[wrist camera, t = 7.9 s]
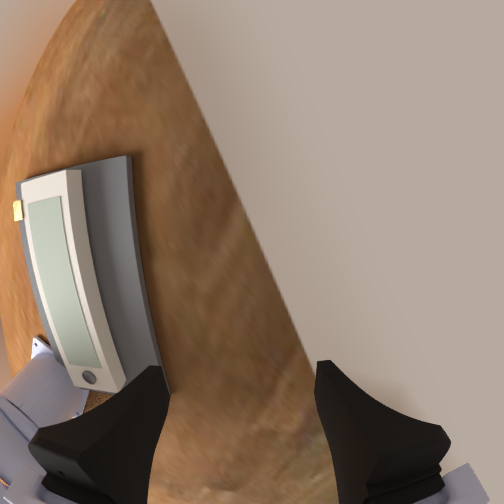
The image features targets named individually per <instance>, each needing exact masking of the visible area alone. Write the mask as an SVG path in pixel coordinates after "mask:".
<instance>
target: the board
mask: <svg viewBox="0 0 504 504" xmlns="http://www.w3.org/2000/svg"><path fill="white" fill-rule="evenodd" d="M63 170H81V177H82V190H83V200H84V209H85V217H86V224H87V231H88V238H89V244H90V249H91V255H92V260H93V265H94V270H95V275H96V279H97V284H98V288H99V292H100V297H101V301H102V304H103V308H104V312H105V316H106V319H107V323H108V326H109V330H110V333H111V336H112V339H113V343H114V346H115V349H116V352H117V355H118V358H119V361H120V363H121V366H122V369H123V372H124V374H125V377H126V381H125V383H124V385H123V387H122V389H123V388H124V387H125V386H126V385H127V384H129V383H130V382H131V381H132V380H133V379H134V378H136V377H137V376H138V375H139V374H140V373H141V372H142V371H143V370H145V369H146V368H147V367H148V366H149V365H155V366H162V370H163V373H164V377H165V381H166V384H167V388H168V391H169V394H170V396H171V392H170V389H169V385H168V382H167V378H166V375H165V371H164V367H163V363H162V359H161V356H160V352H159V347H158V343H157V339H156V335H155V330H154V326H153V321H152V316H151V311H150V306H149V301H148V296H147V290H146V285H145V279H144V273H143V267H142V260H141V253H140V246H139V238H138V230H137V221H136V212H135V201H134V189H133V174H132V156H120V157H115V158H110V159H105V160H100V161H95V162H91V163H86V164H82V165H78V166H73V167H69V168H65V169H61V170H58V171H54V172H50V173H47V174H43V175H40V176H36V177H33V178H29V179H26V180H23V181H20V182H17V183H16V194H17V201H15V202H13V207H14V217H15V221H17V220H19V223H20V231H21V237H22V243H23V249H24V254H25V259H26V264H27V269H28V273H29V278H30V282H31V286H32V290H33V293H34V297H35V301H36V304H37V307H38V311H39V314H40V317H41V320H42V323H43V326H44V329H45V332H46V335H47V338H48V340H49V343H50V346H51V348H52V351H53V353H54V356H55V358H56V361H57V362H59V363H60V364H61V365H62V366H63V367H65V368H66V366H65V364H64V362H63V359H62V357H61V354H60V352H59V349H58V347H57V344H56V342H55V339H54V336H53V334H52V331H51V328H50V325H49V322H48V319H47V316H46V313H45V310H44V307H43V303H42V300H41V296H40V293H39V289H38V285H37V282H36V278H35V273H34V269H33V265H32V260H31V255H30V250H29V245H28V239H27V233H26V227H25V220H24V212H23V203H22V192H21V183H24V182H27V181H30V180H33V179H36V178H40V177H43V176H46V175H50V174H53V173H56V172H60V171H63ZM80 389H84V390H89V391H94V392H100V393H106V394H112V395H115V394H116V393H113V392H106V391H99V390H93V389H88V388H82V387H80Z"/></svg>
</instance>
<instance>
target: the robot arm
mask: <svg viewBox="0 0 504 504" xmlns="http://www.w3.org/2000/svg"><path fill="white" fill-rule="evenodd" d="M88 395H89V390H84V389H80V387H77V386H74V384H73V382H72V380H71V377H70V375H69V373H68V371H67V369H66V368H65V367H63V366H62V365H61V364H60V363H59V362H57V361H56V358H55V356H54V353H53V351H52V348H51V347H50V346H49V345H47V344H46V343H45V342H44V341H43V340H41V339H40V338H39V337H37V336H35V337H34V338H33V346H32V356H31V360H30V361H29V362H28V363H27V364H26V365H25V366H24V367H23V368H22V369H21V370H20V371H19V372H18V373H17V375H16V376H15V377H14V378H13V379H12V380H11V381H10V382H9V383H8V384H7V385H6V386H5V387H4V388H3V389H2V390H1V391H0V478H1V479H2V480H3V481H4V482H5V483H6V484H8V485H9V486H10V487H9V486H6V485H4V484H2V483H1V482H0V504H147V498H148V487H149V479H150V473H151V467H152V461H153V456H154V452H155V448H156V446H157V443H158V440H159V437H160V434H161V431H162V428H163V425H164V422H165V419H166V416H167V412H168V407H169V401H170V394H169V391H168V388H167V384H166V381H165V377H164V373H163V370H162V366H155V365H149V366H148V367H147V368H146V369H145V370H143V371H142V372H141V373H140V374H139V375H138V376H137V377H136V378H134V379H133V380H132V381H131V382H130V383H129V384H127V385H126V386H125V387H124V388H123V389H121V390H120V391H119V392H118V393H116V394H115V395H114V396H112V397H111V398H110V399H108V400H107V401H105V402H104V403H102V404H101V405H99V406H97V407H96V408H94V409H92V410H90V411H88V412H86V413H84V414H83V411H84V407H85V404H86V401H87V398H88ZM314 395H315V401H316V406H317V411H318V414H319V417H320V420H321V423H322V426H323V429H324V432H325V435H326V438H327V441H328V444H329V447H330V451H331V455H332V460H333V465H334V471H335V477H336V483H337V490H338V497H339V504H487V503H488V502H489V500H490V499H489V497H488V495H487V493H486V492H485V490H484V488H483V486H482V485H481V483H480V481H479V480H478V478H477V476H476V474H475V473H474V471H473V469H472V468H471V467H470V465H469V463H466V464H465V465H463V466H461V467H459V468H457V469H455V470H453V471H451V472H449V473H447V474H446V475H445V476H443V477H441V475H440V474H439V473H440V472H441V470H442V469H441V467H440V465H439V463H440V461H441V460H442V459H443V457H444V456H445V454H446V453H447V452H448V450H449V448H450V445H451V441H450V439H449V437H448V436H447V434H446V432H445V431H444V430H443V428H442V427H441V426H440V425H436V424H431V423H427V422H423V421H420V420H417V419H414V418H411V417H408V416H406V415H403V414H401V413H399V412H397V411H395V410H393V409H391V408H389V407H387V406H385V405H383V404H382V403H380V402H379V401H377V400H375V399H374V398H372V397H371V396H369V395H368V394H367V393H365V392H364V391H363V390H362V389H361V388H359V387H358V386H357V385H356V384H355V383H354V382H352V381H351V380H350V379H349V378H348V377H347V376H346V375H345V374H344V373H343V372H342V371H341V370H340V369H339V368H338V367H337V366H336V365H335V364H334V363H333V362H332V361H331V360H324V361H317V369H316V380H315V390H314ZM72 417H74V418H73V419H71V418H72Z"/></svg>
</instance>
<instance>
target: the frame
mask: <svg viewBox="0 0 504 504" xmlns="http://www.w3.org/2000/svg"><path fill="white" fill-rule="evenodd" d="M21 192H22V203H23V212H24V220H25V227H26V233H27V239H28V245H29V250H30V255H31V260H32V265H33V269H34V273H35V278H36V282H37V285H38V289H39V293H40V296H41V300H42V303H43V307H44V310H45V313H46V316H47V319H48V322H49V325H50V328H51V331H52V334H53V336H54V339H55V342H56V344H57V347H58V349H59V352H60V354H61V357H62V359H63V362H64V364H65V366H66V369H67V371H68V373H69V375H70V377H71V380H72V382H73V384H74V386H77V387H82V388H88V389H93V390H99V391H106V392H113V393H118V392H119V391H120V390H121V389H122V387H123V385H124V383H125V381H126V377H125V374H124V372H123V369H122V366H121V363H120V361H119V358H118V355H117V352H116V349H115V346H114V343H113V339H112V336H111V333H110V330H109V326H108V323H107V319H106V316H105V312H104V308H103V304H102V301H101V297H100V292H99V288H98V284H97V279H96V275H95V270H94V265H93V260H92V255H91V249H90V244H89V238H88V231H87V224H86V217H85V209H84V200H83V190H82V177H81V170H63V171H60V172H56V173H53V174H50V175H46V176H43V177H40V178H36V179H33V180H30V181H27V182H24V183H21Z"/></svg>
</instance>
